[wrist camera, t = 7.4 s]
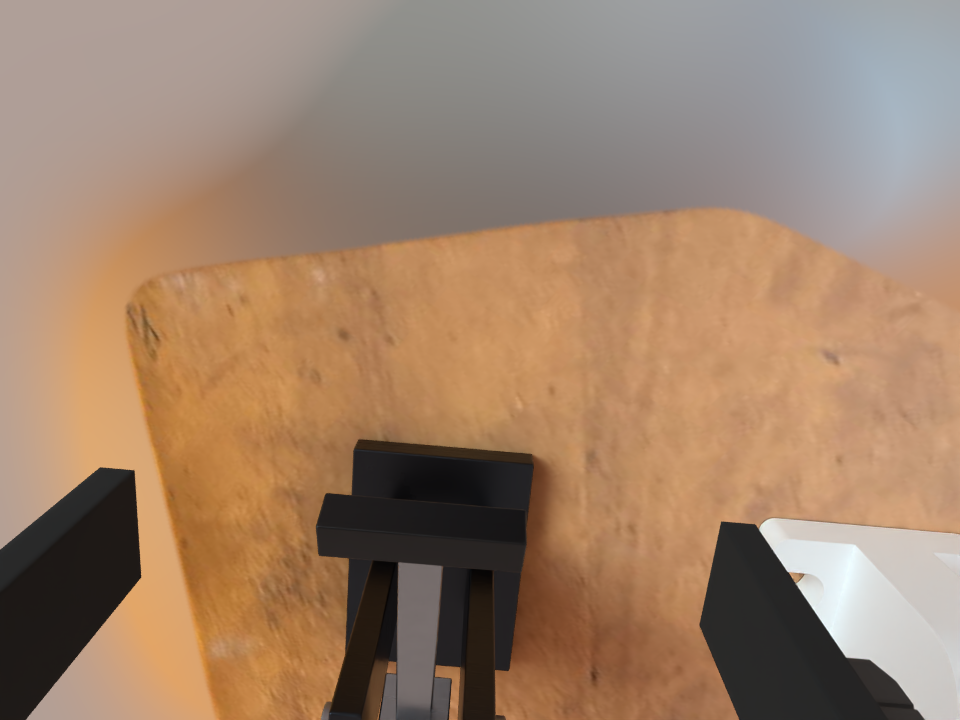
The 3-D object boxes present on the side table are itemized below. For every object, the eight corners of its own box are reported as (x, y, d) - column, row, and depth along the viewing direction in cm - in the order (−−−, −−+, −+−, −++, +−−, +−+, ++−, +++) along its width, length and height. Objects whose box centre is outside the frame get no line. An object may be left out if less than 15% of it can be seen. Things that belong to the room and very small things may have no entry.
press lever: (330, 473, 18) (308, 548, 16) (526, 490, 18) (527, 567, 16) (346, 711, 25) (332, 784, 23) (486, 722, 25) (484, 796, 23)
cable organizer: (939, 630, 35) (1111, 812, 25) (740, 613, 35) (836, 789, 25) (970, 534, 33) (1165, 689, 24) (762, 516, 33) (872, 665, 24)
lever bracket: (358, 438, 32) (278, 613, 20) (532, 453, 32) (559, 637, 20) (349, 642, 35) (275, 901, 23) (508, 655, 36) (519, 920, 23)
